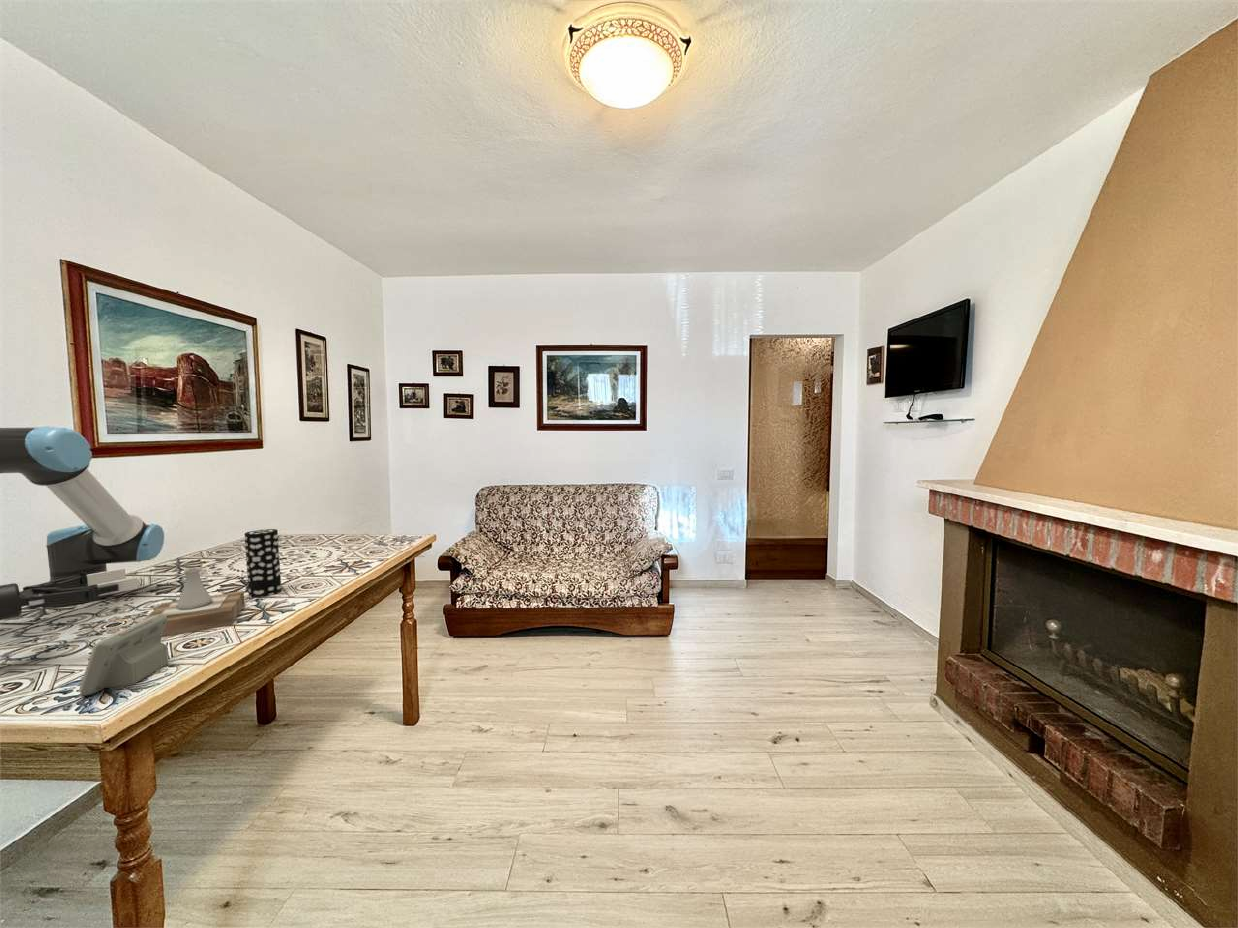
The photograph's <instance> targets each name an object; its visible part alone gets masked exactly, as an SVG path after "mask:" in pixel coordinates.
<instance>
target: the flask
mask: <svg viewBox="0 0 1238 928" xmlns="http://www.w3.org/2000/svg"><path fill="white" fill-rule="evenodd" d="M200 571H201V567H192V568H186V569H184V570H183V572H184V573H185V581H184V586H183V587H182V591H181V594H180V596H179V598H178V600H177V601H178V603H177V606H176V607H177V608H178V609H191V608H195V607H199V606H203V605H206V604H209V603H211V602H213V600H212V598H211V597H210V596H211V595H210V594H209V592H208V591H207V588H206V587H205V585H204V584H203V582H202V579H201V578H202V577H201V576H200V575H201V574H200Z"/></svg>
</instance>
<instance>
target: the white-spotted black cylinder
mask: <svg viewBox="0 0 1238 928" xmlns="http://www.w3.org/2000/svg"><path fill="white" fill-rule="evenodd" d="M278 532H279V531H278V528H277V529H276V528H270V529H269V528H268V529H267V528H266V529H257V530H251V531H247V532H245V533H244V545H245V559H246V571H247V573H246V574H247V585H248V586H247V587H248V597H249V598H264V597H269V596H273V595H276V594H279V593H280V592H281V591H282V578H281V576H282V575H281V564H280V562H281V561H280V551H279V549H280V548H279V533H278Z"/></svg>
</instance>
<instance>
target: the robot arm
mask: <svg viewBox="0 0 1238 928" xmlns="http://www.w3.org/2000/svg"><path fill="white" fill-rule="evenodd" d="M90 449H91V444H90V443H89V442H88V440H87V439H86V437H84V436H83V435H82V434H80V433H79V432H77V431H76V430H73V429H71V428H65V427H54V426H40V427H0V474H21V475H23V477H25V478H26V479H27V480H28V481H29V482H30V483H32V484H33V485H36V486H41V487H46V488H48V489H49V490H50V492H51V493H53V494H54V495H55V496H56V497H57V498H58V499H59V500H60V501H61V502H62V503H63V504H64V505H65V506H66V507H67V508H68V509H69V510H70V511H71V512H73V514H75V516H76V517H78V518H79V519H80V520H81V521H82V522H83V523H84V525H83V524H82V525H76V526H72V527H71V526H70V527H66V528H60V529H56V530H52V531H51V532H49V533H48V534H47V535H46V544H45V545H46V546H45V547H46V549H47V550H46V551H47V559H48V569H49V577H50V579H49V581H47V582H42V583H38V584H33V585H28V586H27V585H26V586H24V587H22V590H21V591H20V588H19V585H18V583H9V584H8V583H6V584H1V585H0V621H5V620H9V619H13V618H14V619H15V618H18V617H20V616H21V615H22V614H23V613H22V608H23V607H29V609H30V610H35V609H38V608H43V607H63V606H70V605H71V606H72V605H78V604H83V603H87V602H95V601H99V600H100V599H101V600H102V599H104V598H106V597H110V596H112V595H115V594H117V593H122V592H126V591H131V590H137V589H139V581H138V576H135V577H130V578H127V577H126V569H125V568H124V567H123V568H118V569H113V570H108V569H107V565H108V564H109V565H110V564H123V563H136V562H137V563H140V562H145V561H146V562H147V561H151V560H153V559H155V558H156V557H158V556H159V554H161V551H162V550H163V546H164V544H165V532H164V529H163V527H162V526H161V525H160V524H154V523H151V524H146V522H144V520H143V519H141V518H140V517H139V516H136V515H133V514H129V513H128V512H127V511H126V510H125V509H124V508H123V507H122V505H120V503H119V502H118V501H117V500H116V499H115V498H114V497H113V496H112V494H111V493H109V492H108V490H107V489H106V488H105V487H104V486H103V485H102V484H101V482H99V480H97V477H95V476H94V475H93V474H92V473H91V471H90V470H89V467H90V464H91V463H90V462H91V461H92V456H93V454H92V451H91V450H90Z"/></svg>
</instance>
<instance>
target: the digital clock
mask: <svg viewBox="0 0 1238 928" xmlns="http://www.w3.org/2000/svg"><path fill="white" fill-rule="evenodd" d="M143 620H144V619H143ZM166 623H167V616H166V615H164V614H159V615H155V616H152V617H150V618H148V619H146V620H144V621H142V620H141V621H139V622H138V623H135V624H132V625H130V626H128V627H127V628H125V629H123V630H120V631H118V632H116V633H113V634H111V635H110V636H107V637H105V638H103V639H101V640H99V641H97V642H96V643H95V644H94V645H93V648H92V649H91V650H92V651H91V653H90V657H89V658H88V662H87V665H86V667H85V670H84V674H83V677H82V680H81V683H80V685H79V692H80V695H81V696H89V695H93V694H96V693H98V692H99V691H102V690H103V689H106V688H108V689H109V688H117V687H127V686H134V685H135V684H137V683H138V682H141V681H142V680H143V679H146V677H148V676H151V674H153V673H155V672H157V671H159V670H160V669H162V668H163V667H165V666H166V665H168V663H169V660H168V648H167V645H166V644H165V643H164V642H162V638H163V637H162V635H163V632H164V629H165V626H166Z"/></svg>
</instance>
